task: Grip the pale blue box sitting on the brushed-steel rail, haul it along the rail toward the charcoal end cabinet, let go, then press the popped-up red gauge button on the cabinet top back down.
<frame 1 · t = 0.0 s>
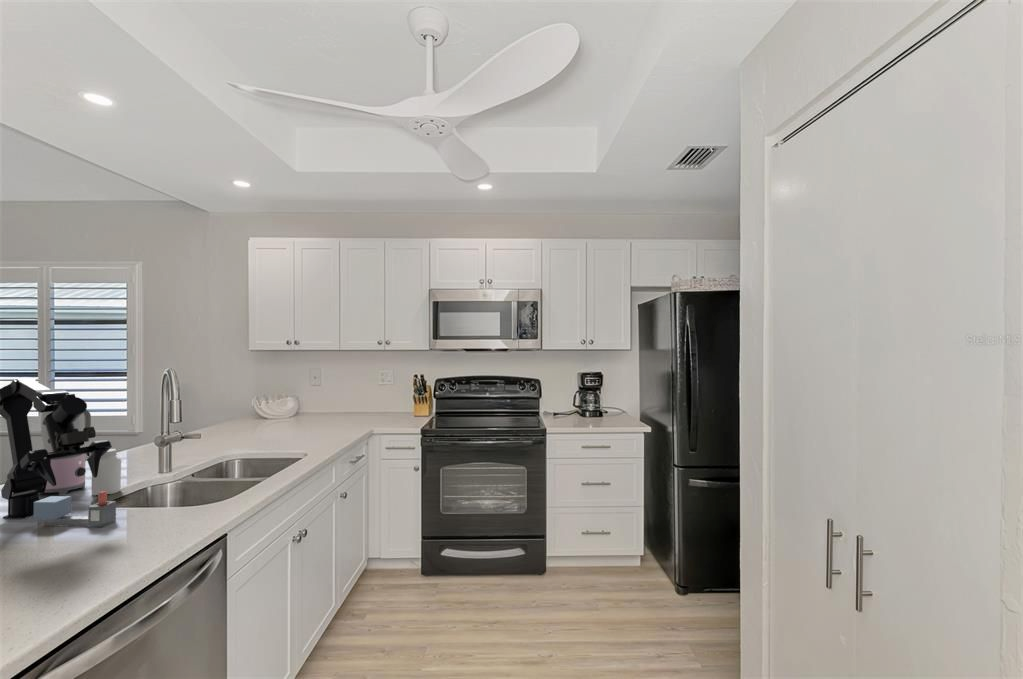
hand: (75, 481, 137), 15 cm above the worktop, tool tilted 35°, fingers open, 9 cm apart
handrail: (70, 524, 144), on the worktop
blender: (66, 491, 174), on the worktop
pale blue box: (52, 507, 144), point 5 cm above the worktop, slide at 0.0 cm
end cabinet: (102, 524, 144), on the worktop
gauge button: (102, 500, 144), point 7 cm above the worktop, slide at 2.5 cm
pill bottle: (106, 493, 173), on the worktop
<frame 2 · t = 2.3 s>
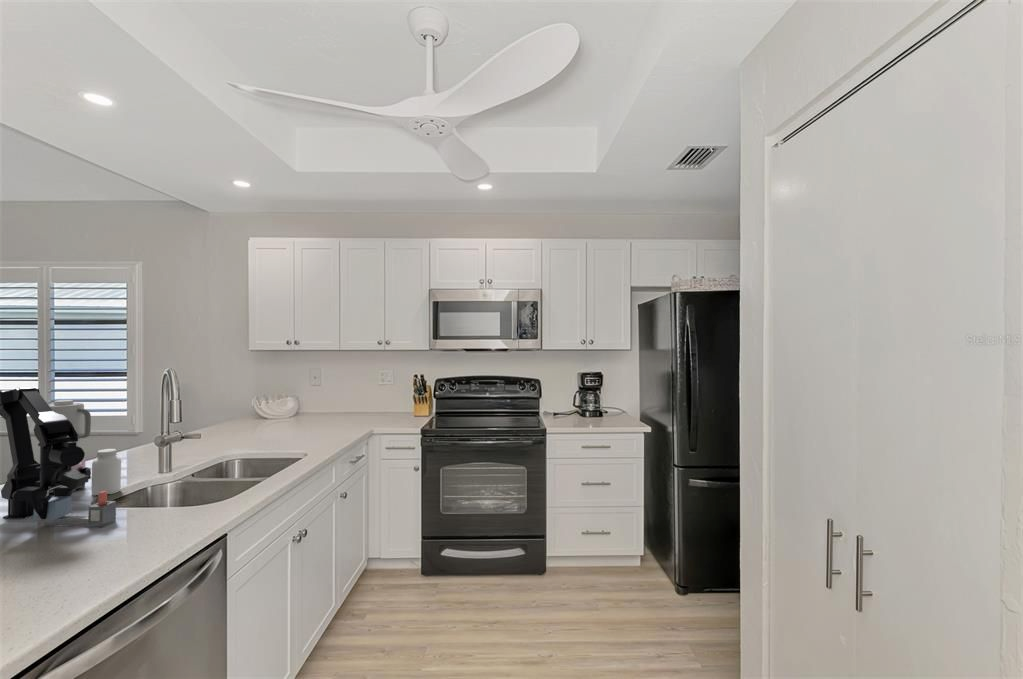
hand: (52, 515, 144), 3 cm above the worktop, tool pointing down, fingers closed on pale blue box, 5 cm apart
pale blue box: (52, 507, 144), point 5 cm above the worktop, slide at 0.0 cm, touching gripper
everything else where it was.
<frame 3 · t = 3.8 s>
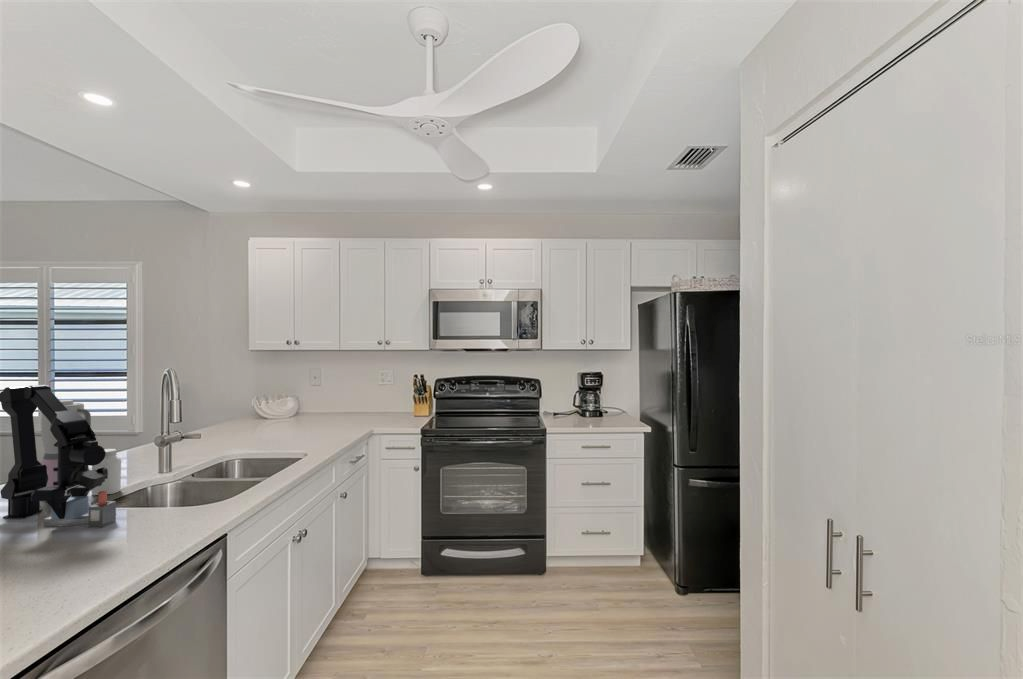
hand: (70, 515, 144), 3 cm above the worktop, tool pointing down, fingers closed on pale blue box, 5 cm apart
pale blue box: (70, 507, 144), point 5 cm above the worktop, slide at 4.9 cm, touching gripper
everything else where it was.
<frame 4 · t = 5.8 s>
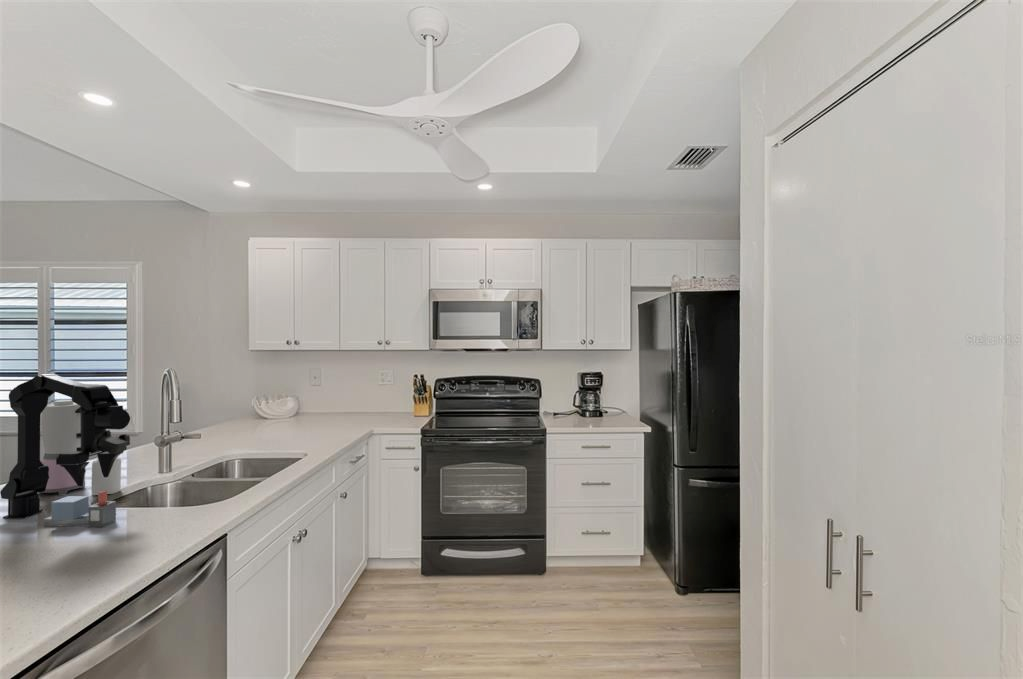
hand: (93, 481, 144), 13 cm above the worktop, tool pointing down, fingers open, 9 cm apart
pale blue box: (70, 507, 144), point 5 cm above the worktop, slide at 4.9 cm
everything else where it was.
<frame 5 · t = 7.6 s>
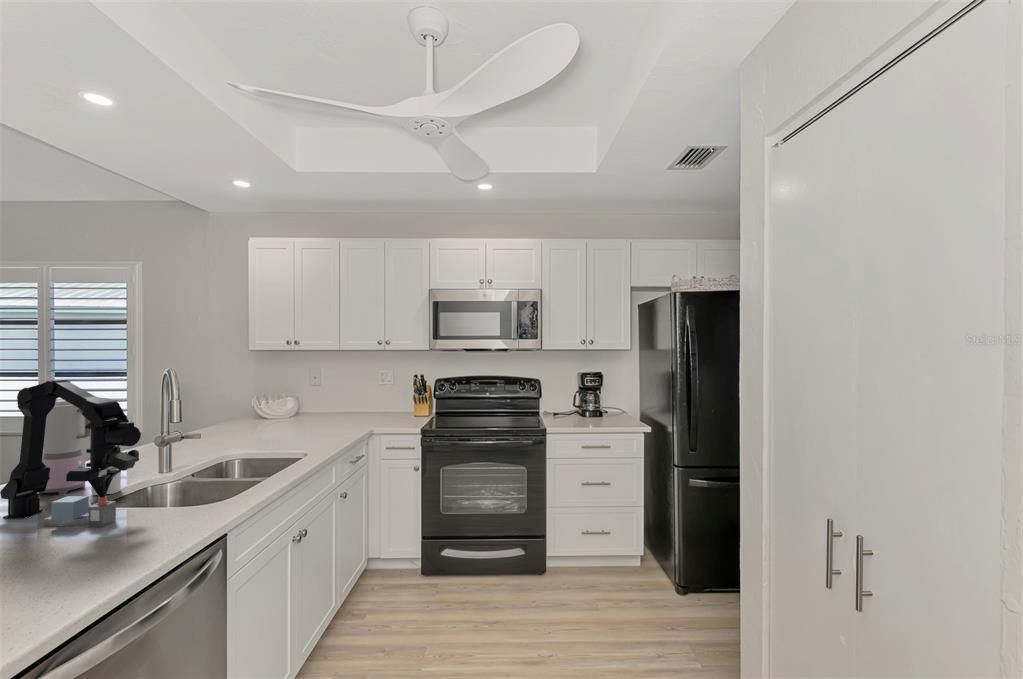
hand: (102, 497, 144), 8 cm above the worktop, tool pointing down, fingers closed, pressing on gauge button
gauge button: (102, 505, 144), point 6 cm above the worktop, slide at 1.0 cm, touching gripper
everything else where it was.
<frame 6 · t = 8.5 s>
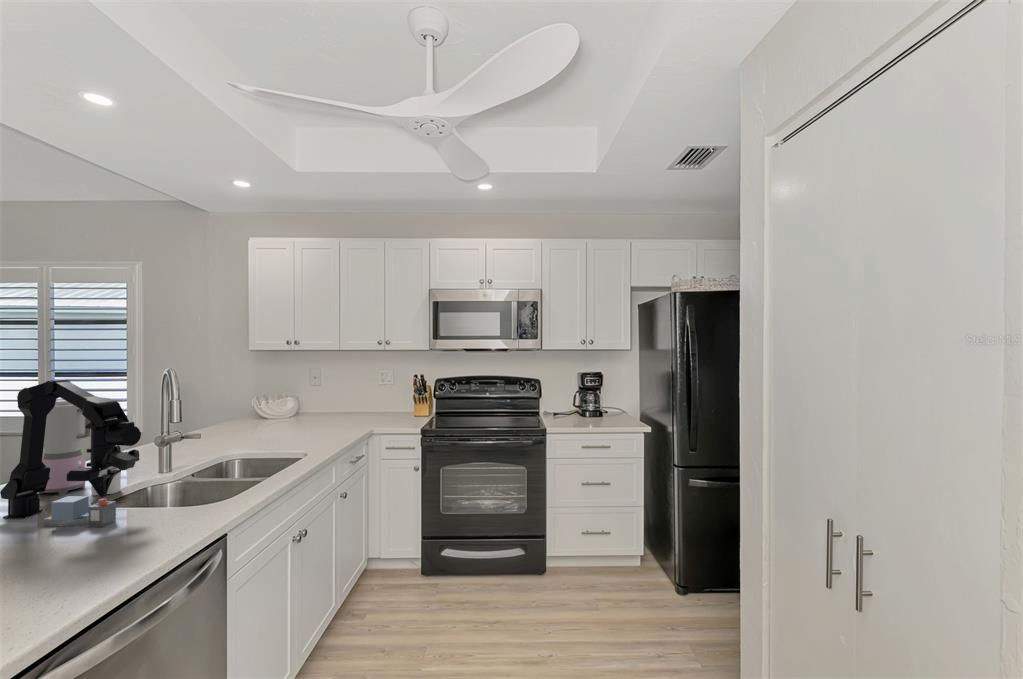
hand: (102, 496, 144), 8 cm above the worktop, tool pointing down, fingers closed
gauge button: (102, 508, 144), point 5 cm above the worktop, slide at 0.3 cm
everything else where it was.
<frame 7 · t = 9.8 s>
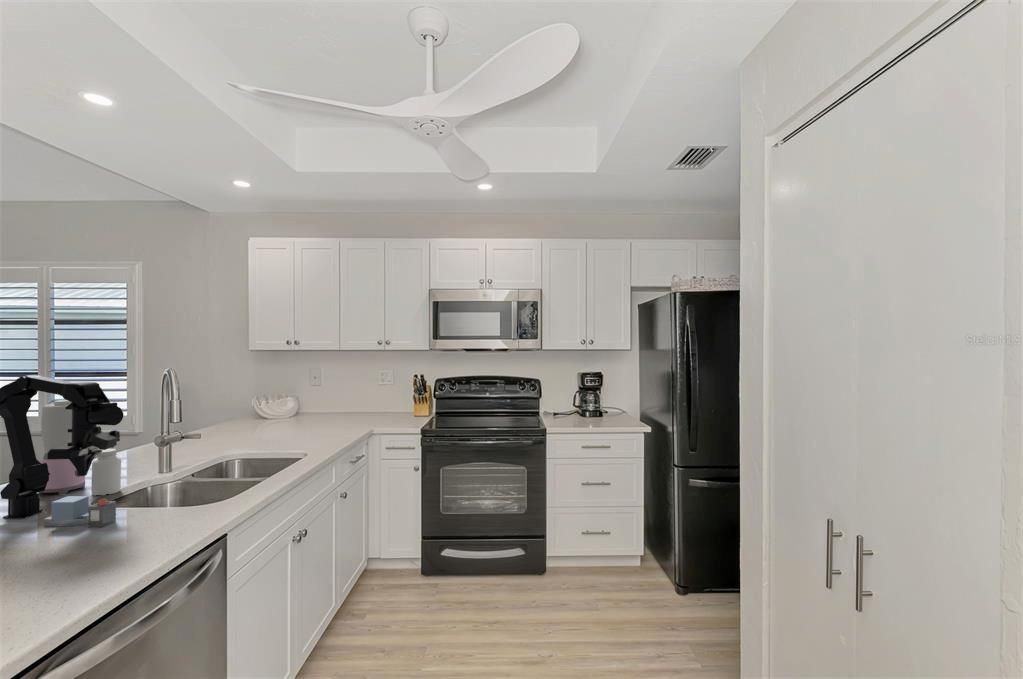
hand: (83, 475, 148), 13 cm above the worktop, tool pointing down, fingers closed
nothing on the worktop moved.
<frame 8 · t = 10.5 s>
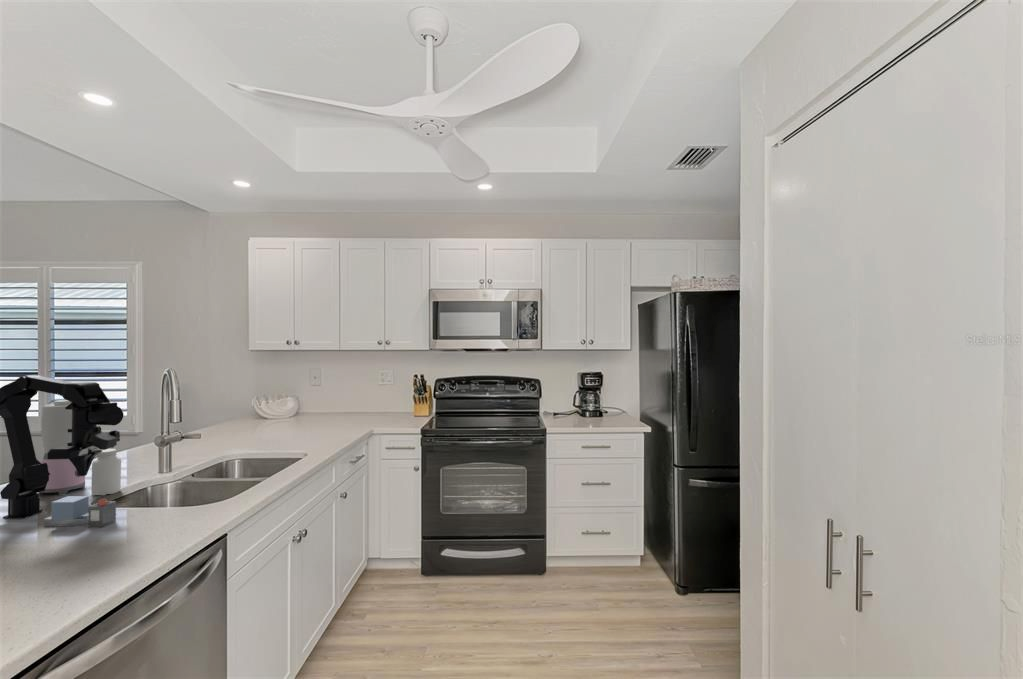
hand: (83, 475, 148), 13 cm above the worktop, tool pointing down, fingers closed
nothing on the worktop moved.
at the end: pale blue box slide at 4.9 cm; gauge button slide at 0.3 cm; the gripper is holding nothing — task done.
